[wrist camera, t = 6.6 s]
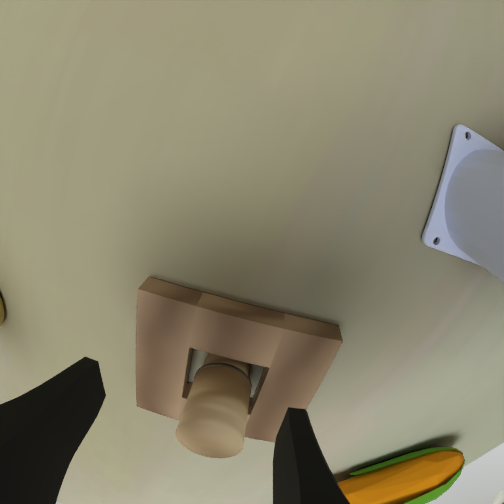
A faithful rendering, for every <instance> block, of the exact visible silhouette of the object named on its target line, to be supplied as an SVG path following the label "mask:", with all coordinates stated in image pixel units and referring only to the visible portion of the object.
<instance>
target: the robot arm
mask: <svg viewBox="0 0 504 504" xmlns="http://www.w3.org/2000/svg"><path fill="white" fill-rule="evenodd" d="M465 133H467V134H468V138H467V139H466V137H465ZM436 237H437V241H436V242H435V243H433V240H434V239H435V238H436ZM422 242H423V243H424V244H425V245H427V246H428V247H431V248H434V249H437V250H440V251H443V252H445V253H448V254H451V255H454V256H456V257H459V258H462V259H464V260H467V261H470V262H472V263H475V264H477V265H480V266H482V267H484V268H485V269H486V270H487V271H489V272H490V273H491V274H492V275H494V276H495V277H496V278H497V279H499V280H500V281H501V282H502V283H504V151H503V150H502V149H500V148H499V147H497V146H496V145H494V144H493V143H491V142H490V141H488V140H487V139H485V138H484V137H482V136H481V135H479V134H477V133H476V132H474V131H472V130H471V129H469V128H467V127H466V126H464V125H461V124H458V125H456V126H455V127H454V129H453V133H452V138H451V142H450V146H449V150H448V154H447V158H446V162H445V166H444V170H443V173H442V177H441V180H440V184H439V187H438V190H437V193H436V197H435V200H434V203H433V206H432V209H431V212H430V215H429V218H428V221H427V224H426V226H425V229H424V232H423V235H422ZM105 396H106V394H105V390H104V386H103V382H102V377H101V373H100V368H99V363H98V361H95V360H93V359H90V358H87V357H84V358H82V359H81V360H79V361H78V362H76V363H75V364H73V365H71V366H70V367H68V368H67V369H65V370H64V371H62V372H61V373H59V374H58V375H56V376H54V377H53V378H51V379H49V380H48V381H46V382H45V383H43V384H41V385H40V386H38V387H36V388H34V389H32V390H30V391H29V392H27V393H25V394H23V395H21V396H19V397H17V398H15V399H13V400H10V401H8V402H5V403H3V404H0V504H55V503H56V500H57V497H58V493H59V490H60V487H61V485H62V482H63V479H64V476H65V474H66V471H67V469H68V466H69V464H70V462H71V460H72V458H73V456H74V454H75V452H76V451H77V449H78V447H79V445H80V444H81V442H82V440H83V439H84V437H85V435H86V434H87V432H88V431H89V429H90V427H91V425H92V424H93V422H94V420H95V419H96V417H97V415H98V413H99V411H100V408H101V406H102V404H103V401H104V399H105ZM273 504H350V502H349V501H348V499H347V498H346V496H345V495H344V493H343V492H342V490H341V489H340V487H339V485H338V483H337V482H336V480H335V478H334V476H333V474H332V472H331V471H330V469H329V467H328V465H327V462H326V460H325V458H324V456H323V454H322V451H321V449H320V447H319V444H318V442H317V439H316V437H315V434H314V432H313V429H312V426H311V423H310V420H309V417H308V413H307V411H306V410H305V409H300V408H291V407H288V409H287V411H286V414H285V416H284V419H283V421H282V424H281V426H280V429H279V431H278V433H277V436H276V440H275V448H274V457H273Z"/></svg>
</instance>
